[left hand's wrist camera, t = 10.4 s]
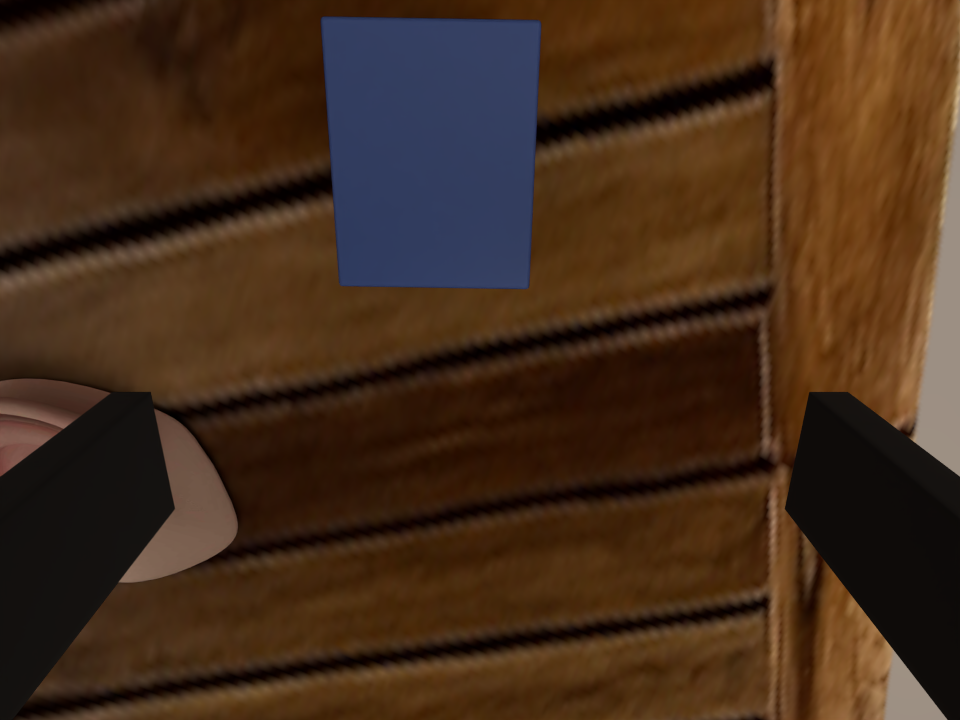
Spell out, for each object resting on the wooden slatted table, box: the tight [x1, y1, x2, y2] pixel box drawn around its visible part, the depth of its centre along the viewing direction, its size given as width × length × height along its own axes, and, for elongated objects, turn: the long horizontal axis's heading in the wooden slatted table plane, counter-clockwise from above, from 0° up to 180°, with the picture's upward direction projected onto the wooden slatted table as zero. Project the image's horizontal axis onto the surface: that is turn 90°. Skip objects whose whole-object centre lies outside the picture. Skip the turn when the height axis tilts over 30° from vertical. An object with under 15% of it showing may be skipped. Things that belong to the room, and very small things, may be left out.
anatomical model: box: [0, 379, 238, 582], centre depth 28 cm, size 13×4×12 cm
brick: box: [321, 17, 541, 289], centre depth 19 cm, size 5×6×10 cm
